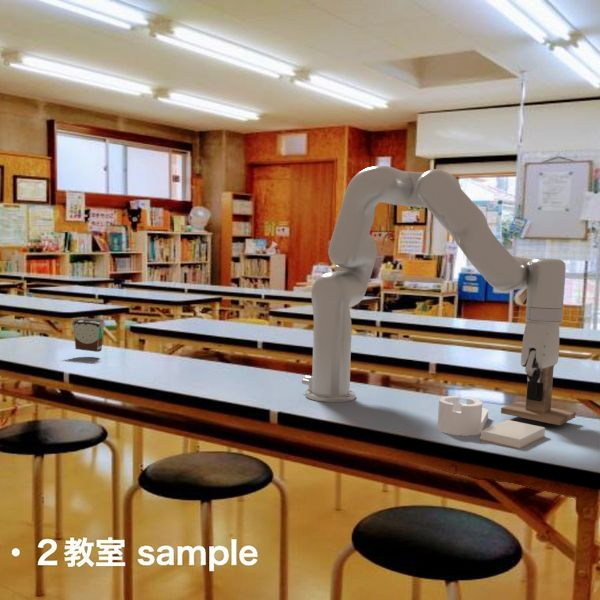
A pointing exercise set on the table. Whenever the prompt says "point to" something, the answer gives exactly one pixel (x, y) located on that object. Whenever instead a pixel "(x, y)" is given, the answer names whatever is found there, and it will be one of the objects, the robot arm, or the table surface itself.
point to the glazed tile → (512, 434)
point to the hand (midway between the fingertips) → (538, 397)
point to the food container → (88, 334)
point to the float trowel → (540, 404)
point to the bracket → (461, 416)
